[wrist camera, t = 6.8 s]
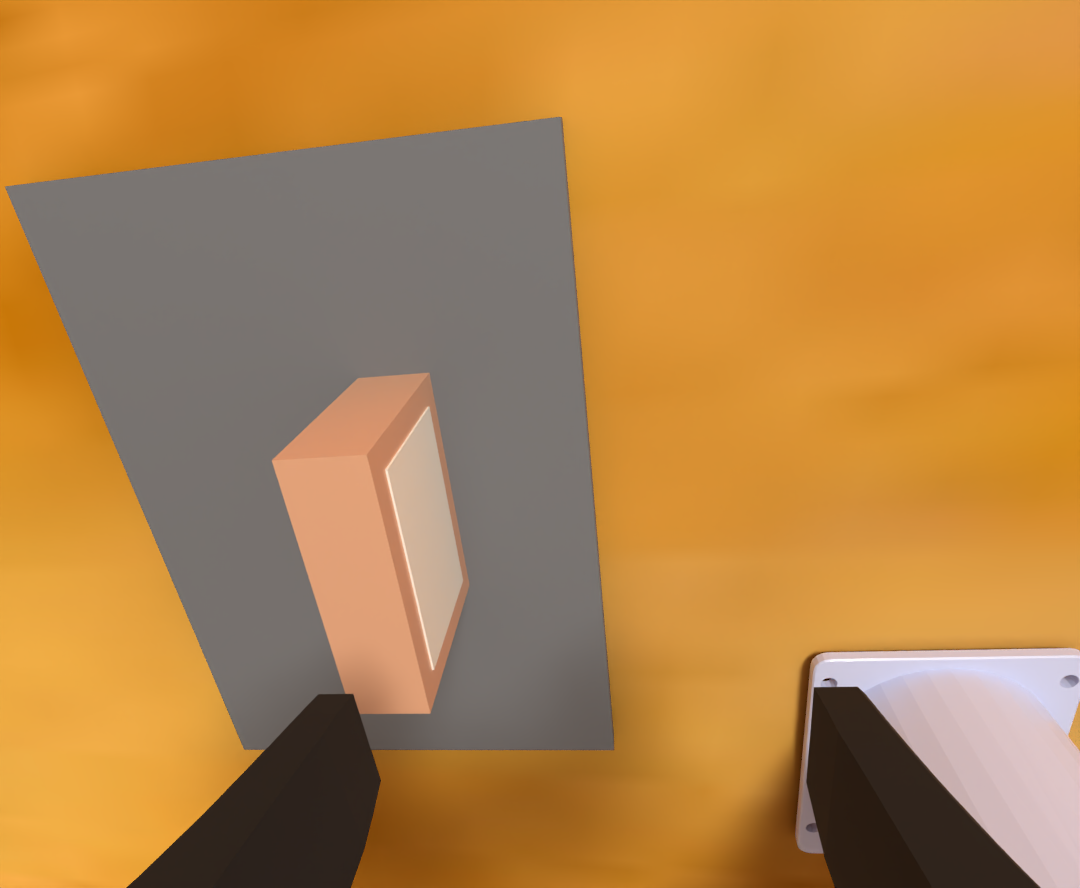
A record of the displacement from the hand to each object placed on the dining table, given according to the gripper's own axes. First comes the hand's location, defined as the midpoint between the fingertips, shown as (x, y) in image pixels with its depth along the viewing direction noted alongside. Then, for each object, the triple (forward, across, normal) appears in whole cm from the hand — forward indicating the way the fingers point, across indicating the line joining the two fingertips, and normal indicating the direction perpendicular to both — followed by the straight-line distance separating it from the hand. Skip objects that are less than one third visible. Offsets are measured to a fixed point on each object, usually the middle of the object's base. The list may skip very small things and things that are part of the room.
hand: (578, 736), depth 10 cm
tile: (+9, +5, 0) cm, 10 cm away
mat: (+9, +7, +1) cm, 12 cm away
